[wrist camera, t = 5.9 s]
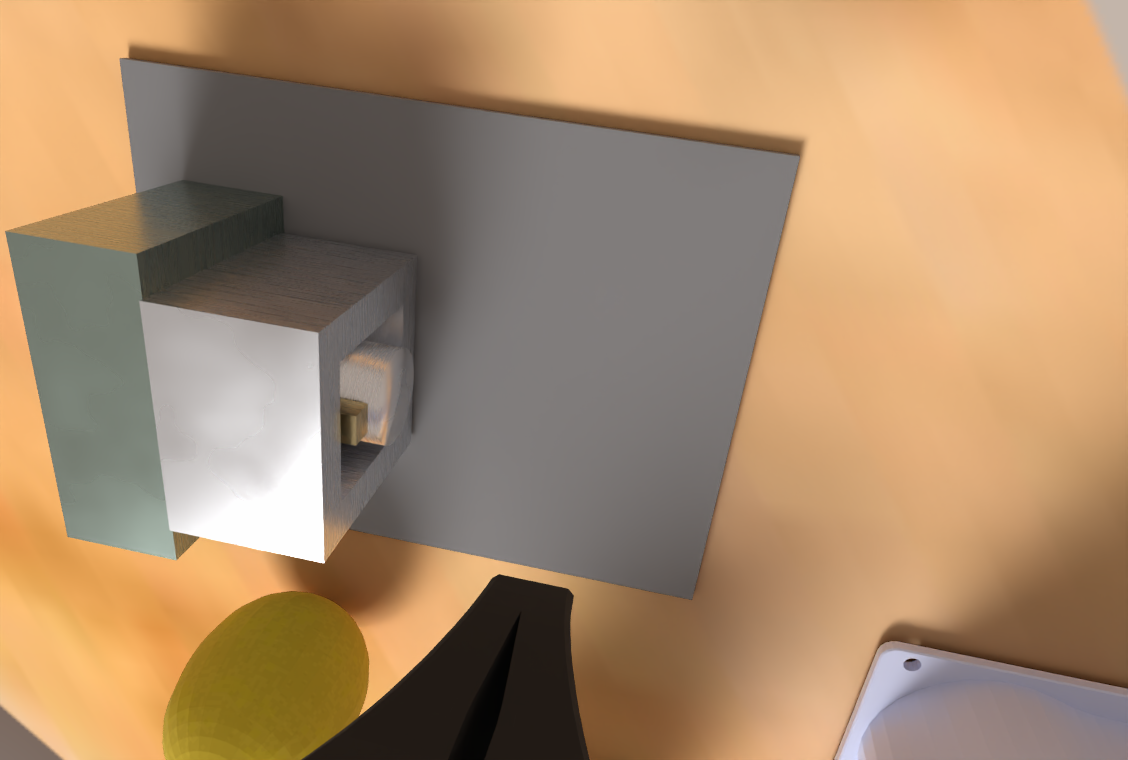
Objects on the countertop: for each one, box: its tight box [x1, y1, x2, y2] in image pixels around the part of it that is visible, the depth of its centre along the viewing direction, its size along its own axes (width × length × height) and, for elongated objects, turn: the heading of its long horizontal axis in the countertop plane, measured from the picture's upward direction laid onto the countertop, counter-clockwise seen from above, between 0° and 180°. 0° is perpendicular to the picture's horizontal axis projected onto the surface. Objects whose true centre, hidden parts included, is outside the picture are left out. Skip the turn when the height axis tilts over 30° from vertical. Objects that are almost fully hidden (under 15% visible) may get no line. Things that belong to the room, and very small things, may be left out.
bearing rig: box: [5, 180, 414, 560], centre depth 20 cm, size 8×8×6 cm
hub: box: [139, 233, 417, 563], centre depth 20 cm, size 4×6×6 cm, turn 173°
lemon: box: [162, 591, 369, 760], centre depth 24 cm, size 6×6×8 cm
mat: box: [120, 58, 800, 600], centre depth 23 cm, size 18×14×1 cm
